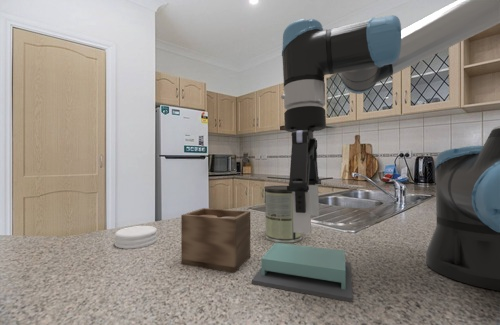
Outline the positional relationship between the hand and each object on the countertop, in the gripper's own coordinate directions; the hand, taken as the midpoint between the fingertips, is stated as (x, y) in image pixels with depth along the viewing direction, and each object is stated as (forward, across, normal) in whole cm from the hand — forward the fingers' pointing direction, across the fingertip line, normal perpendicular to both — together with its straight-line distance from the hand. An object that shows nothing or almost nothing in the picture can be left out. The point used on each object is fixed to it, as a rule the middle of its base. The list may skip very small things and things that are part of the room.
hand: (307, 223), depth 45 cm
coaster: (+9, -3, -45) cm, 46 cm away
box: (+9, 0, -19) cm, 21 cm away
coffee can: (+9, -21, -10) cm, 25 cm away
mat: (+10, 0, -1) cm, 10 cm away
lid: (+8, 0, -1) cm, 8 cm away
